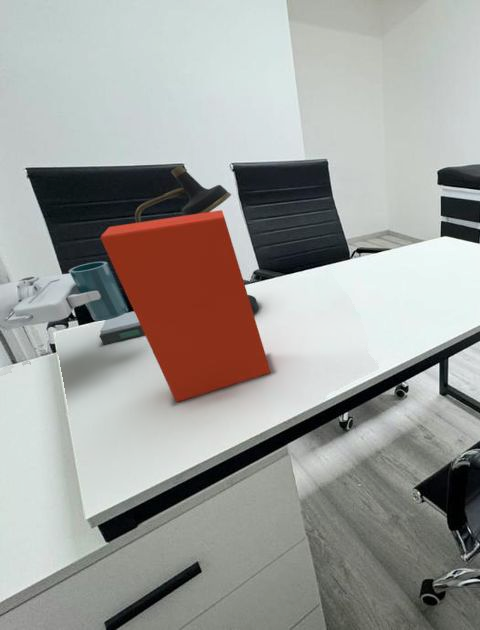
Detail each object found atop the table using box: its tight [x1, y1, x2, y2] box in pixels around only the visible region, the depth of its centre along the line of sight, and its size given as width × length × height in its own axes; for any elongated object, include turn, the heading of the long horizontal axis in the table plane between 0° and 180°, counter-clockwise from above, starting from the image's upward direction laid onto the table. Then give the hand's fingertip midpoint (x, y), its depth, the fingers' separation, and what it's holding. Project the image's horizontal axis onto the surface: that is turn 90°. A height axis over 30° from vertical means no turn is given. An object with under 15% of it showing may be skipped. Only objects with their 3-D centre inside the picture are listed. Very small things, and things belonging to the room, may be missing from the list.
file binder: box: [100, 209, 272, 403], centre depth 72 cm, size 8×17×32 cm, turn 118°
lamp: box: [134, 165, 260, 316], centre depth 97 cm, size 16×22×38 cm
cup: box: [68, 261, 129, 322], centre depth 82 cm, size 6×6×11 cm
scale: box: [99, 310, 145, 346], centre depth 101 cm, size 12×11×4 cm
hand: (104, 287), depth 82 cm, fingers closed on cup, 6 cm apart
